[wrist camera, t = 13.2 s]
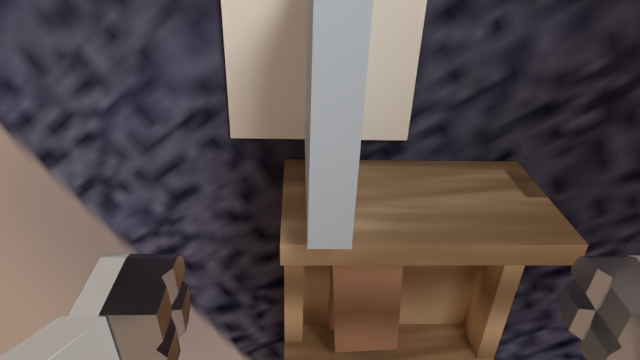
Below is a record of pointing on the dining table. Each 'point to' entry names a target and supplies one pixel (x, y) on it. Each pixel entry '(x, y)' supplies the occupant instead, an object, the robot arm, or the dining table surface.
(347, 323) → the offcut
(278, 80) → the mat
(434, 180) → the tray
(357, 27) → the grey block
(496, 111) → the dining table surface
